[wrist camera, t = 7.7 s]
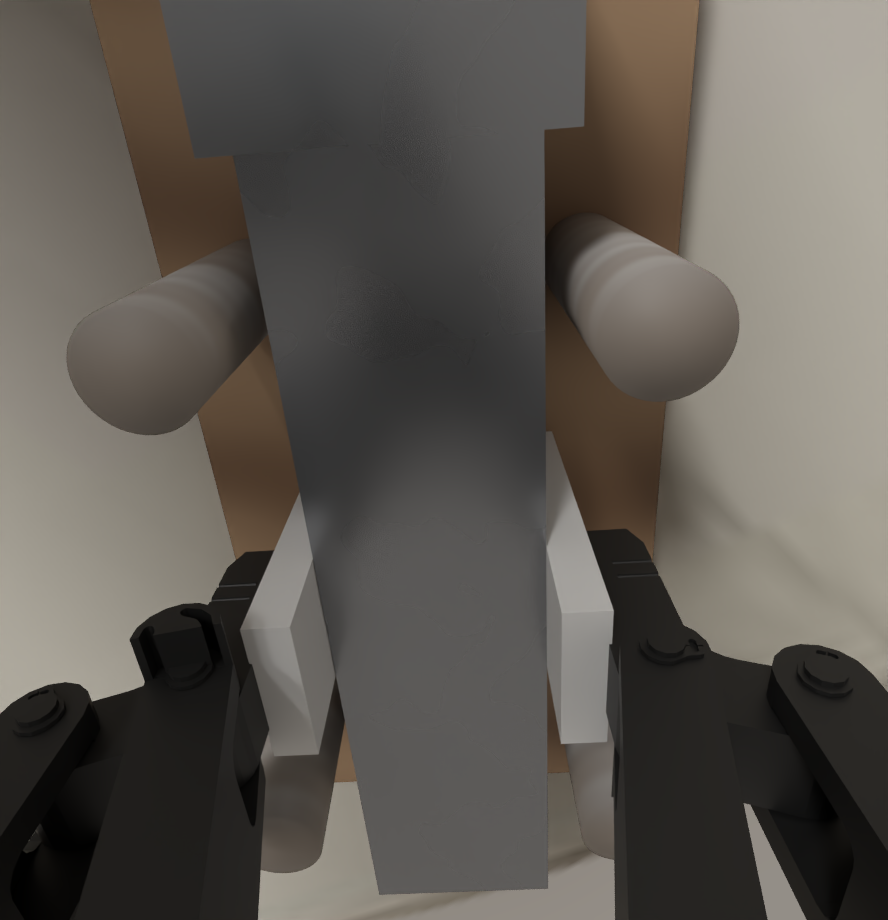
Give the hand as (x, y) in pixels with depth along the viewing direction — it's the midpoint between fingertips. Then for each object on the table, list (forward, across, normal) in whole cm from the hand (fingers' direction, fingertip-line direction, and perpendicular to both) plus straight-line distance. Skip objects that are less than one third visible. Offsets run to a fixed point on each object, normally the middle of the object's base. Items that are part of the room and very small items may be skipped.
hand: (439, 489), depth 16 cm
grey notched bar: (0, 0, +2) cm, 2 cm away
